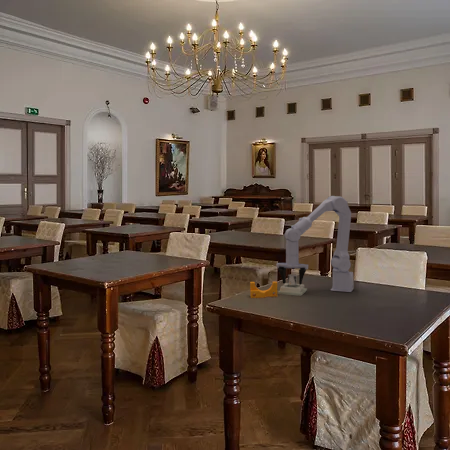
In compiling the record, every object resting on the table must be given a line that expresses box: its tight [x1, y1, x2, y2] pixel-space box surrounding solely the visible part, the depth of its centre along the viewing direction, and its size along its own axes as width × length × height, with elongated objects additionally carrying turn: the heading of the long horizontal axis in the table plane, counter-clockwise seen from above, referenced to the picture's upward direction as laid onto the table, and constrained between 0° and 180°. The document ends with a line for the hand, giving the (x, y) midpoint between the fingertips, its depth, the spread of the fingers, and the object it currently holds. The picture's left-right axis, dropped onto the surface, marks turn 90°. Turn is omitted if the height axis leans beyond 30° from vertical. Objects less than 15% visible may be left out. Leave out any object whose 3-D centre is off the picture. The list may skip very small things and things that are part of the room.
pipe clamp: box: [249, 281, 278, 299], centre depth 220 cm, size 12×4×6 cm, turn 90°
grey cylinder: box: [287, 273, 298, 288], centre depth 227 cm, size 4×4×7 cm
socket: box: [277, 282, 308, 297], centre depth 227 cm, size 11×11×3 cm
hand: (292, 283), depth 227 cm, fingers open, 7 cm apart
